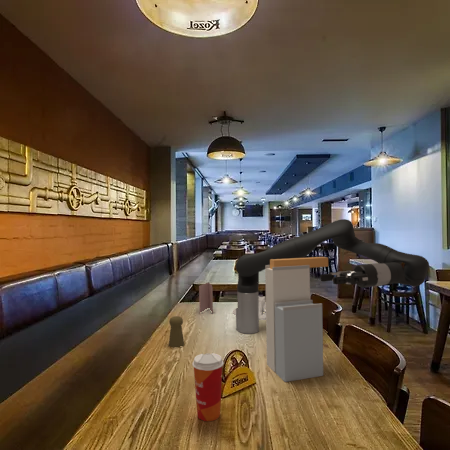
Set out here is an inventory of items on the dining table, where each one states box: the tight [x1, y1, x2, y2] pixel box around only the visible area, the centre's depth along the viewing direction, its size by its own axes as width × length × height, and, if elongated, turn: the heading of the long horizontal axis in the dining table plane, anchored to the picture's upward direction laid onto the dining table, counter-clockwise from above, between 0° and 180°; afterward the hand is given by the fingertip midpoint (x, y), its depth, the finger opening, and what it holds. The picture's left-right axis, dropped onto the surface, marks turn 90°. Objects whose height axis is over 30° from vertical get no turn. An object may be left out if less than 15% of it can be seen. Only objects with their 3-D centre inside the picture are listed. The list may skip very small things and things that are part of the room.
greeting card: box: [198, 282, 214, 314], centre depth 179 cm, size 11×7×15 cm, turn 157°
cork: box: [168, 315, 185, 348], centre depth 131 cm, size 6×6×11 cm
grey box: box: [275, 299, 324, 383], centre depth 104 cm, size 13×6×22 cm, turn 107°
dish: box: [232, 295, 266, 321], centre depth 176 cm, size 25×25×11 cm
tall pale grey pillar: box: [264, 265, 311, 373], centre depth 111 cm, size 13×6×33 cm, turn 107°
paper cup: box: [192, 352, 224, 422], centre depth 83 cm, size 8×8×14 cm
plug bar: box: [270, 256, 329, 269], centre depth 112 cm, size 20×3×3 cm, turn 107°
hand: (327, 279), depth 109 cm, fingers open, 8 cm apart
